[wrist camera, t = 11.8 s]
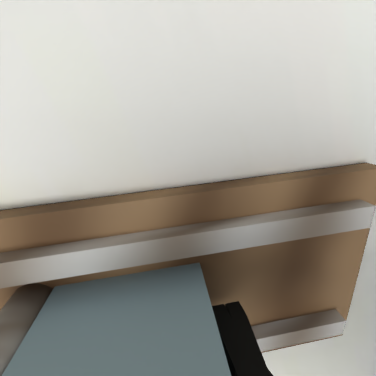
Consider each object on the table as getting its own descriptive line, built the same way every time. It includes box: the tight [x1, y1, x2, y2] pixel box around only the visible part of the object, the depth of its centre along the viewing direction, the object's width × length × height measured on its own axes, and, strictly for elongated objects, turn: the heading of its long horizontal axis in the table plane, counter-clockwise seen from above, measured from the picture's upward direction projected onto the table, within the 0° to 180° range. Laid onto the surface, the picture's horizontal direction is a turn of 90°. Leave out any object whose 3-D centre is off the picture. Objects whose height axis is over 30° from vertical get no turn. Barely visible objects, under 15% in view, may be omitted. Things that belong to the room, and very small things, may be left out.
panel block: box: [2, 263, 231, 376], centre depth 9 cm, size 7×4×5 cm, turn 94°
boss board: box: [0, 163, 376, 376], centre depth 10 cm, size 20×12×5 cm, turn 95°
